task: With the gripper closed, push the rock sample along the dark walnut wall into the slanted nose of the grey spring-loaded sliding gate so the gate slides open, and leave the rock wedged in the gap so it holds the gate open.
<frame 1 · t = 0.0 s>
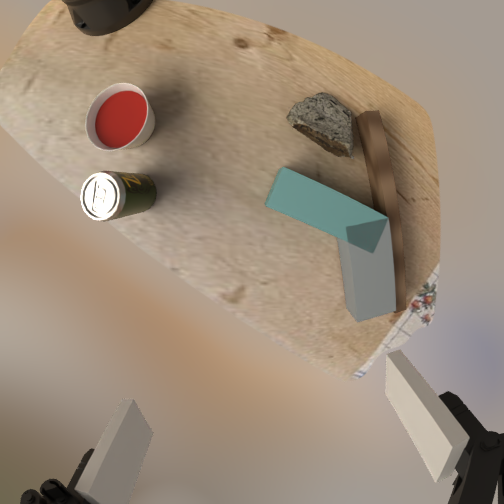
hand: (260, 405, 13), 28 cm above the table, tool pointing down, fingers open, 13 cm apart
walnut wall: (381, 212, 39), on the table
sliding gate: (332, 244, 37), point 3 cm above the table, slide at 0.0 cm
rock sample: (318, 122, 36), on the table
beer can: (140, 193, 38), on the table
candle: (134, 125, 36), on the table
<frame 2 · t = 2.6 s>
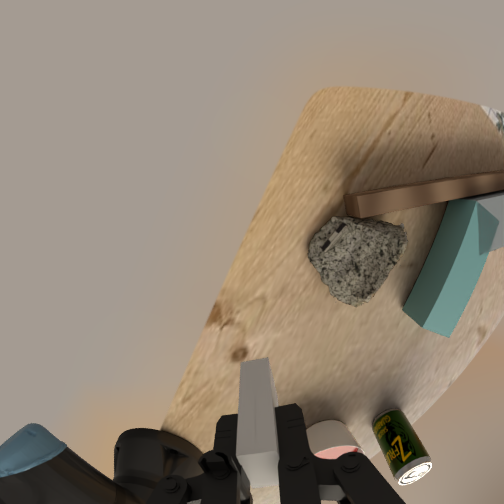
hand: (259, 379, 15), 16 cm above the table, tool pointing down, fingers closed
walnut wall: (447, 186, 28), on the table
sliding gate: (478, 258, 27), point 3 cm above the table, slide at 0.0 cm
rock sample: (344, 256, 30), on the table
beer can: (386, 418, 35), on the table
candle: (323, 433, 36), on the table
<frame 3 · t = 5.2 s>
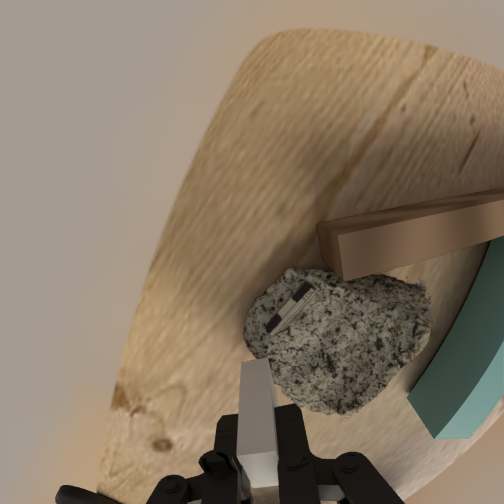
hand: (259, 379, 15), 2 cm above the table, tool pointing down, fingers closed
walnut wall: (493, 203, 15), on the table
rock sample: (313, 330, 17), on the table, touching gripper
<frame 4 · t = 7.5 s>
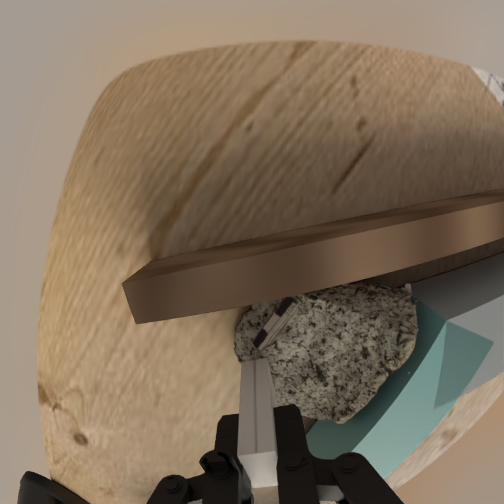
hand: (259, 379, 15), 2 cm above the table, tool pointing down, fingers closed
walnut wall: (395, 226, 15), on the table
sliding gate: (441, 389, 15), point 3 cm above the table, slide at 2.2 cm
rock sample: (305, 339, 17), on the table, touching gripper
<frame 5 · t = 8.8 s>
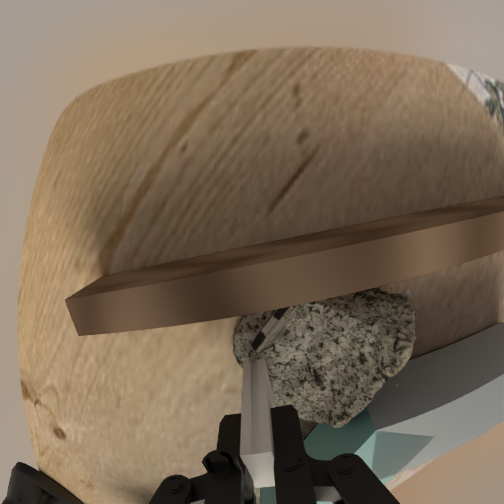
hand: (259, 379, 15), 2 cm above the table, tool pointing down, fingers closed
walnut wall: (342, 246, 15), on the table
sliding gate: (390, 457, 15), point 3 cm above the table, slide at 7.1 cm
rock sample: (304, 342, 17), on the table, touching gripper
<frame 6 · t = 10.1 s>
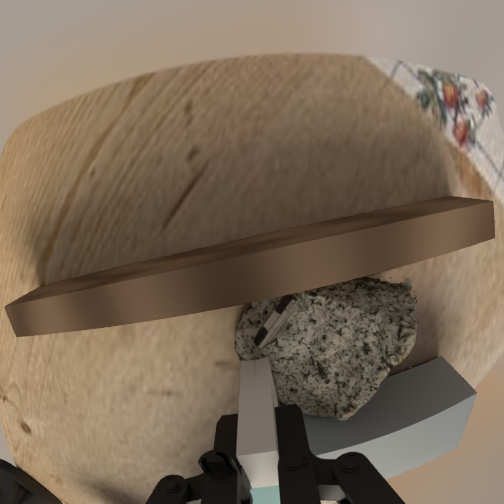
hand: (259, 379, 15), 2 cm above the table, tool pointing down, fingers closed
walnut wall: (235, 259, 16), on the table
sliding gate: (318, 480, 17), point 3 cm above the table, slide at 9.0 cm, touching rock sample
rock sample: (305, 337, 17), on the table, touching gripper, sliding gate
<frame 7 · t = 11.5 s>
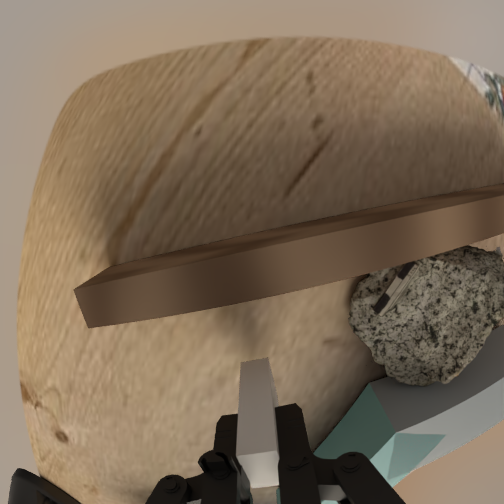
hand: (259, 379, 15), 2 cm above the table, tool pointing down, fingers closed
walnut wall: (356, 230, 15), on the table
sliding gate: (402, 456, 16), point 3 cm above the table, slide at 8.9 cm, touching rock sample
rock sample: (404, 307, 16), on the table, touching sliding gate
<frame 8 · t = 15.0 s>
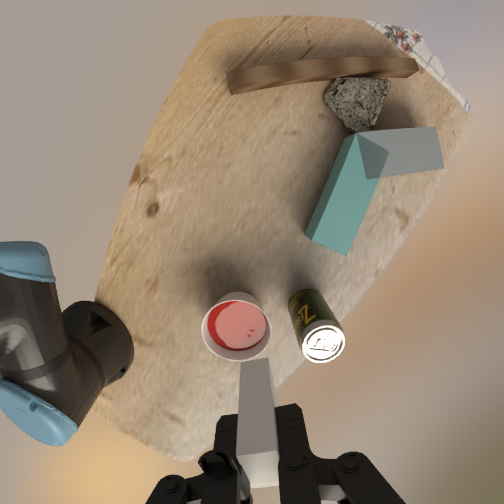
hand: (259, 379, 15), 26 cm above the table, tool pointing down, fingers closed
walnut wall: (326, 74, 35), on the table
sliding gate: (376, 188, 36), point 3 cm above the table, slide at 8.8 cm
rock sample: (350, 107, 36), on the table
beer can: (305, 303, 42), on the table
candle: (238, 311, 43), on the table
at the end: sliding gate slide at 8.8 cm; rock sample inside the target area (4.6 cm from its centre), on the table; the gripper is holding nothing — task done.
